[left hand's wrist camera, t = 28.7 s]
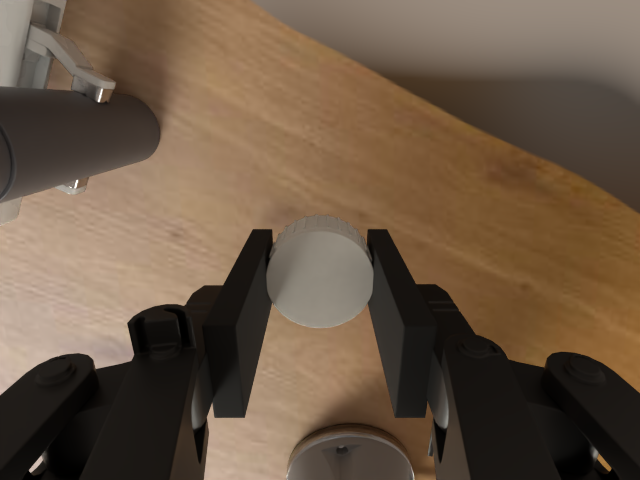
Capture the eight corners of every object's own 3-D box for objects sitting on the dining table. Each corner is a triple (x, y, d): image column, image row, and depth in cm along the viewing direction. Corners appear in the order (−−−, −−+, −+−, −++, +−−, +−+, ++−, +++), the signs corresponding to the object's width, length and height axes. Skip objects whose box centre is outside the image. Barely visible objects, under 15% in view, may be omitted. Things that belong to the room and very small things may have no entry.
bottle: (93, 87, 29) (-368, 46, 10) (162, 102, 30) (-148, 93, 10) (94, 154, 31) (-292, 235, 11) (158, 168, 31) (-108, 268, 12)
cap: (273, 304, 15) (267, 330, 13) (267, 213, 14) (259, 229, 12) (367, 303, 15) (374, 329, 13) (371, 212, 14) (378, 228, 12)
